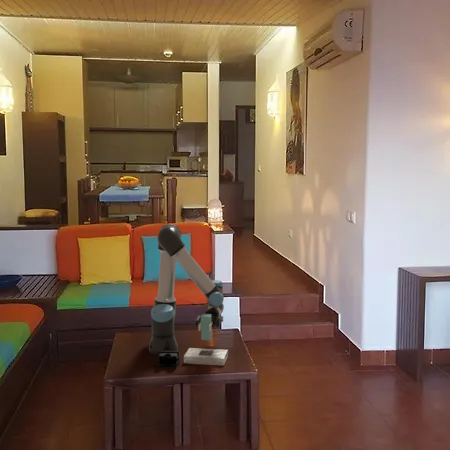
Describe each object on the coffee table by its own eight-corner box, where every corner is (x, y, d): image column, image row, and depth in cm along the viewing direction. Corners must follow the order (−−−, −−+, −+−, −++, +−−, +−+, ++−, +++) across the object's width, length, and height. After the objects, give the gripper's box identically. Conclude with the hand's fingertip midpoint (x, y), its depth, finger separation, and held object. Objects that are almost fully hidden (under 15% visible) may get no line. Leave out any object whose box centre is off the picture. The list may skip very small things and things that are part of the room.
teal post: (201, 339, 281) (201, 316, 280) (203, 336, 286) (202, 313, 284) (210, 340, 281) (210, 316, 279) (211, 337, 285) (211, 314, 283)
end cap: (179, 362, 281) (179, 349, 280) (178, 368, 274) (177, 354, 273) (159, 362, 282) (159, 349, 281) (157, 367, 275) (157, 354, 274)
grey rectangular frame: (183, 363, 280) (183, 356, 279) (189, 354, 292) (189, 347, 291) (223, 365, 277) (223, 358, 276) (227, 356, 288) (227, 349, 288)
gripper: (229, 322, 299) (222, 336, 276) (196, 320, 302) (186, 334, 279) (229, 308, 298) (222, 321, 275) (196, 306, 300) (186, 320, 278)
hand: (204, 328), depth 277 cm, fingers closed on teal post, 4 cm apart
